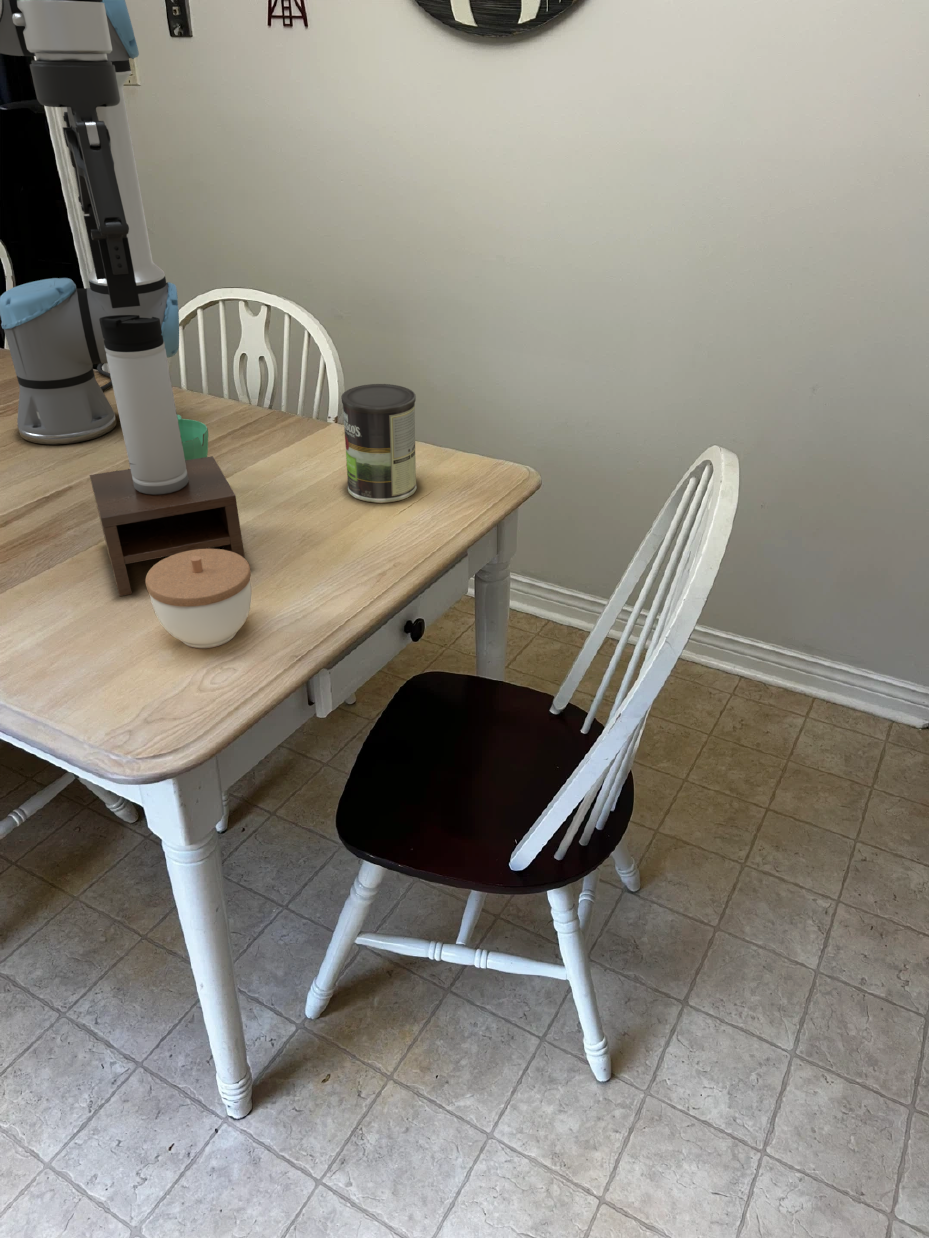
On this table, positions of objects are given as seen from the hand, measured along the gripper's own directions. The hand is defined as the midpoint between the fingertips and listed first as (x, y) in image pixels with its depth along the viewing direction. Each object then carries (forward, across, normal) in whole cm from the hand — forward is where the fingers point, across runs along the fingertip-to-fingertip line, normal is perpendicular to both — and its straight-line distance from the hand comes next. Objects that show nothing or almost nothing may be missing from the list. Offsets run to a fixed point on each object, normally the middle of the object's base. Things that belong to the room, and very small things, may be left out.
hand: (117, 291), depth 94 cm
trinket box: (+32, +21, +1) cm, 38 cm away
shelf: (+32, +2, 0) cm, 32 cm away
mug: (+32, -18, +5) cm, 37 cm away
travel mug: (+22, +2, 0) cm, 22 cm away
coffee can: (+32, -7, +32) cm, 46 cm away
